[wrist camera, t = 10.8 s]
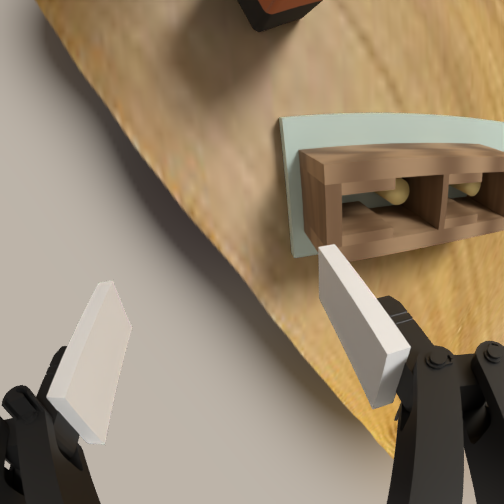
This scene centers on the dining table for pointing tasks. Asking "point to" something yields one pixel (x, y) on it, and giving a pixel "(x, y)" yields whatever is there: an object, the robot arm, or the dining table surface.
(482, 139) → the board
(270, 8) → the battery
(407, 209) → the divided compartment tray
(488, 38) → the dining table surface
